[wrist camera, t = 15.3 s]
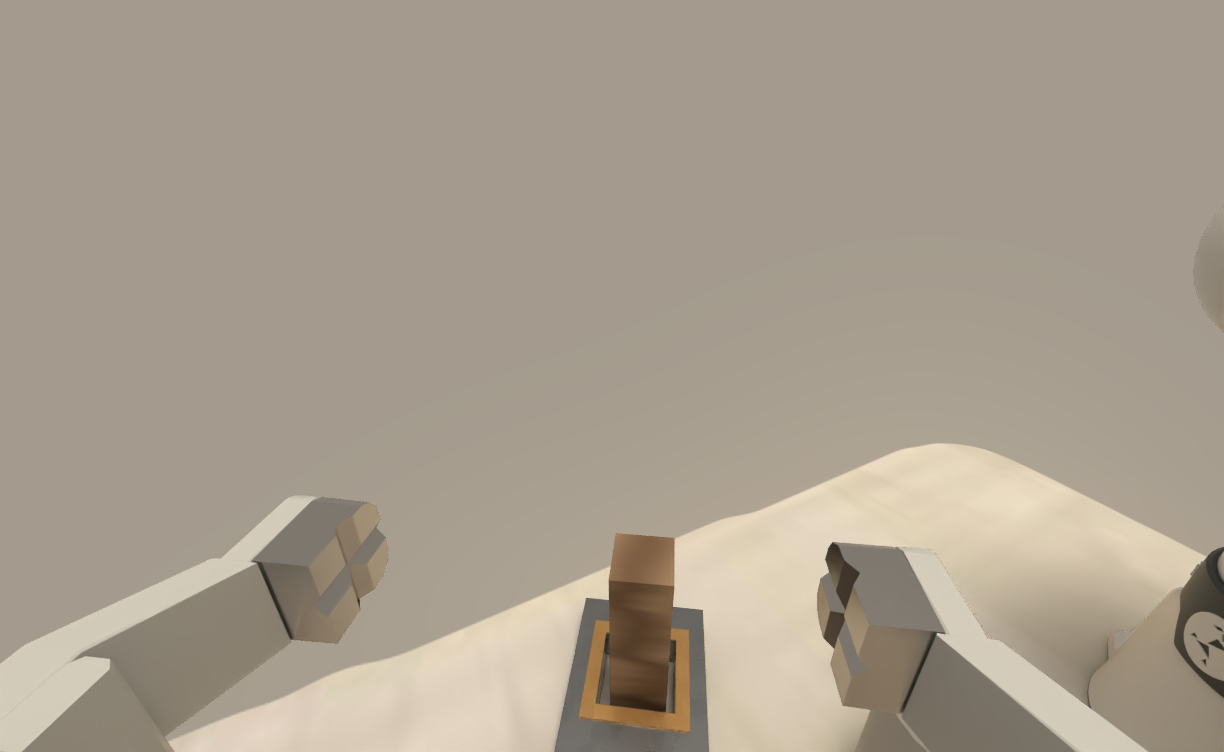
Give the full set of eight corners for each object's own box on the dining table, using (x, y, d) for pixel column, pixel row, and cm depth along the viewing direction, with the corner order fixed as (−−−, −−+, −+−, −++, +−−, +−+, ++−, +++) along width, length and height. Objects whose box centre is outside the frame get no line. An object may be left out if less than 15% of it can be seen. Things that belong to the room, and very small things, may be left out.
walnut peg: (665, 669, 40) (674, 538, 34) (664, 722, 36) (674, 586, 30) (616, 664, 40) (615, 533, 34) (610, 715, 37) (608, 580, 30)
